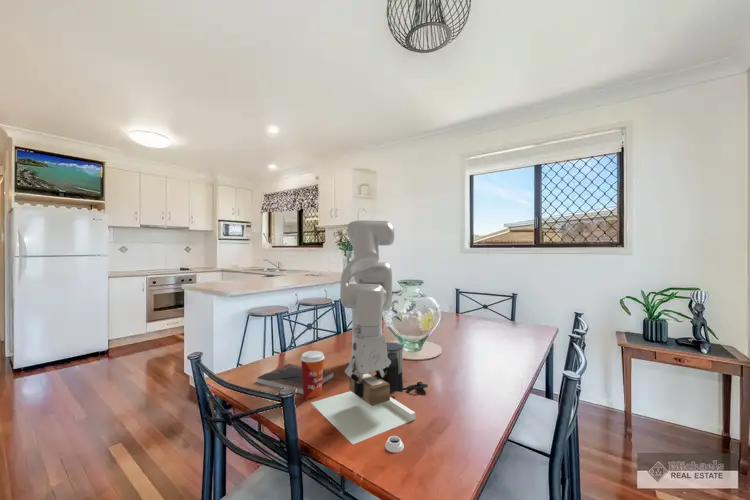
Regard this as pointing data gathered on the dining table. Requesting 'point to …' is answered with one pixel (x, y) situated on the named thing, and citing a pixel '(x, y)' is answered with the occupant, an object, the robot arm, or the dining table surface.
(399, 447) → the white flanged bushing
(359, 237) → the robot arm
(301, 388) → the picture frame
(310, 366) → the paper cup
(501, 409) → the dining table surface
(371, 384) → the brown rectangular box
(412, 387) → the milk frother
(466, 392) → the dining table surface
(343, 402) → the wall board
